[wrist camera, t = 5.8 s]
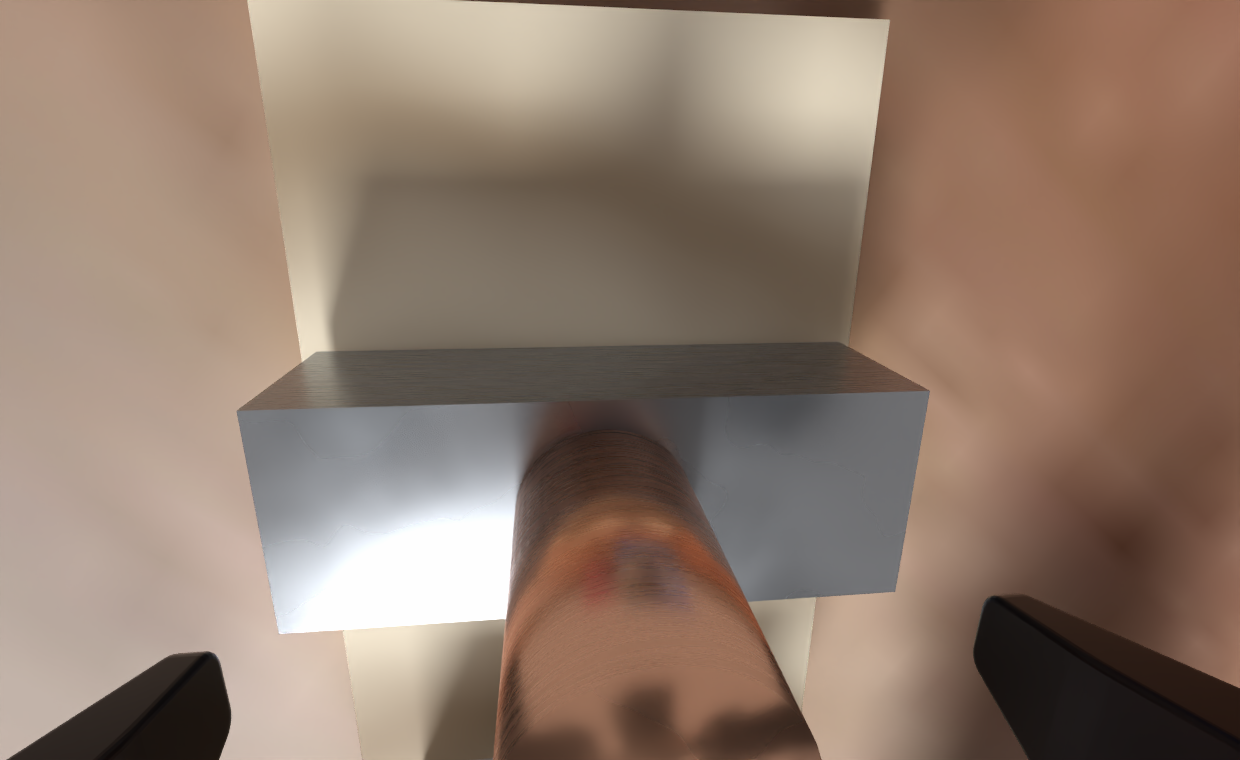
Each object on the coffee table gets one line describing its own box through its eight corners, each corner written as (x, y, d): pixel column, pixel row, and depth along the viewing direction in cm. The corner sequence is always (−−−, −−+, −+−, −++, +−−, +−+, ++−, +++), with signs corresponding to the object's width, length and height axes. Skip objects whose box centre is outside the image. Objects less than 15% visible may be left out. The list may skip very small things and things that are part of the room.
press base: (775, 800, 20) (867, 1048, 14) (388, 841, 18) (319, 1134, 13) (865, 31, 13) (1108, -83, 7) (269, 6, 12) (13, -159, 6)
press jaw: (818, 502, 15) (1152, 891, 7) (341, 527, 14) (39, 1041, 5) (838, 341, 14) (1274, 577, 6) (316, 351, 12) (-119, 675, 4)
